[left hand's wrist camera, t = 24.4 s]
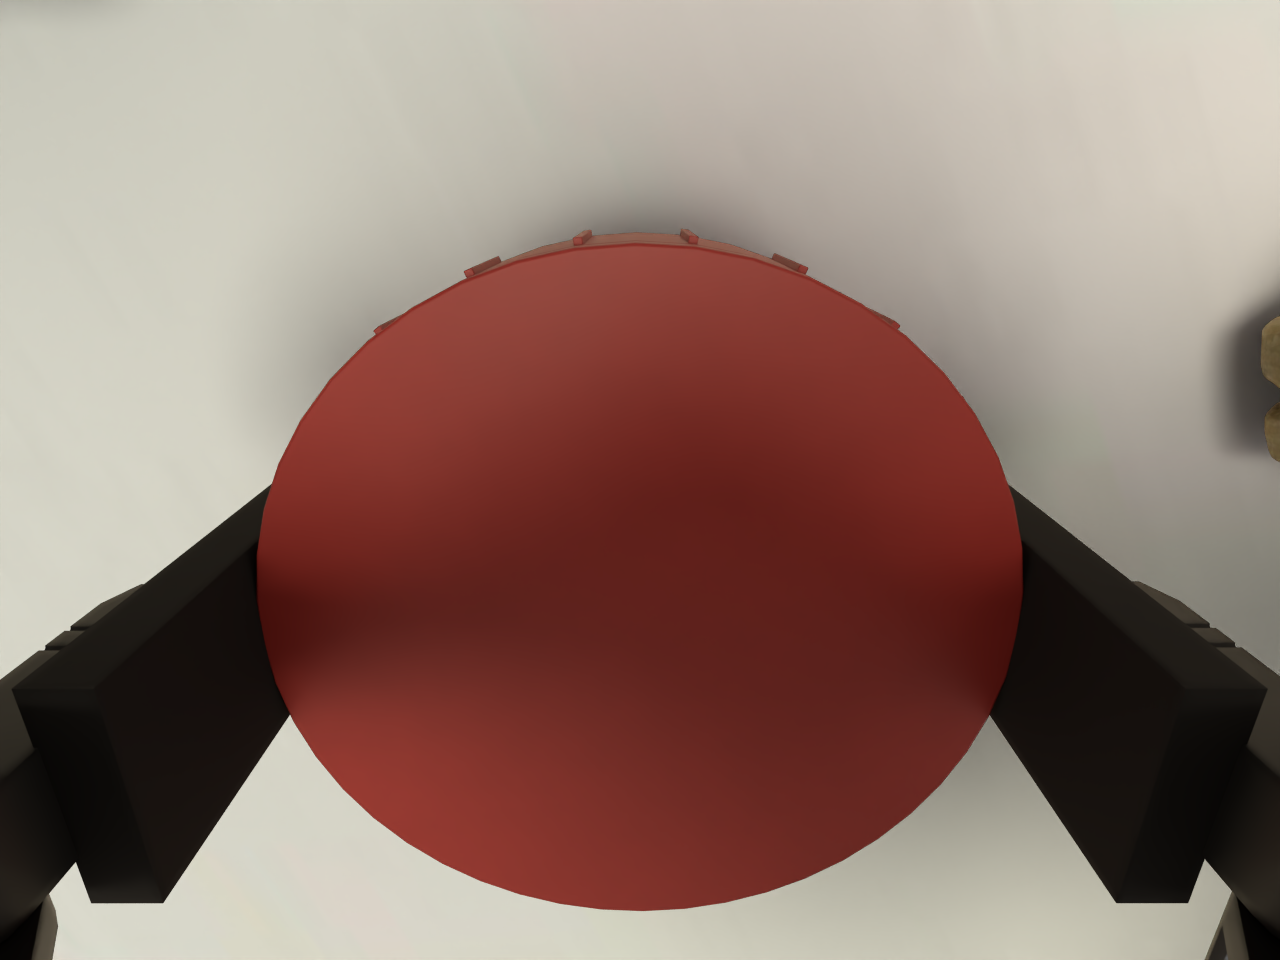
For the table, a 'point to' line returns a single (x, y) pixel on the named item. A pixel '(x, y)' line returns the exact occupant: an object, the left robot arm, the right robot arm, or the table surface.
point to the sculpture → (1276, 368)
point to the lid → (639, 574)
